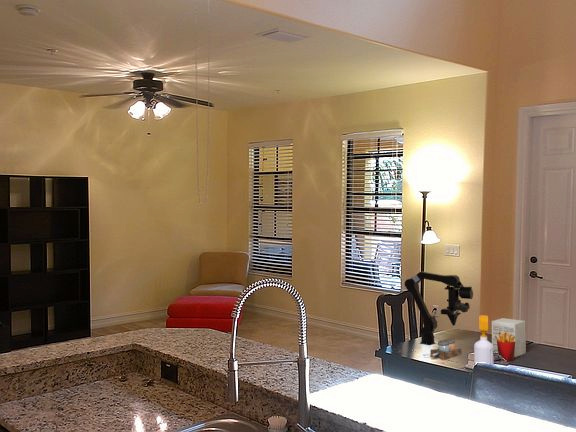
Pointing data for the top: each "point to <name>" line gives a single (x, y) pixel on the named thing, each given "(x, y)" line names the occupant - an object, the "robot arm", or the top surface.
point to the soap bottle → (483, 343)
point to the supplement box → (510, 327)
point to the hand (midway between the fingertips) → (453, 325)
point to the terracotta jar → (451, 344)
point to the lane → (446, 354)
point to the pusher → (437, 353)
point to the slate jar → (444, 346)
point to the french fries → (506, 346)
